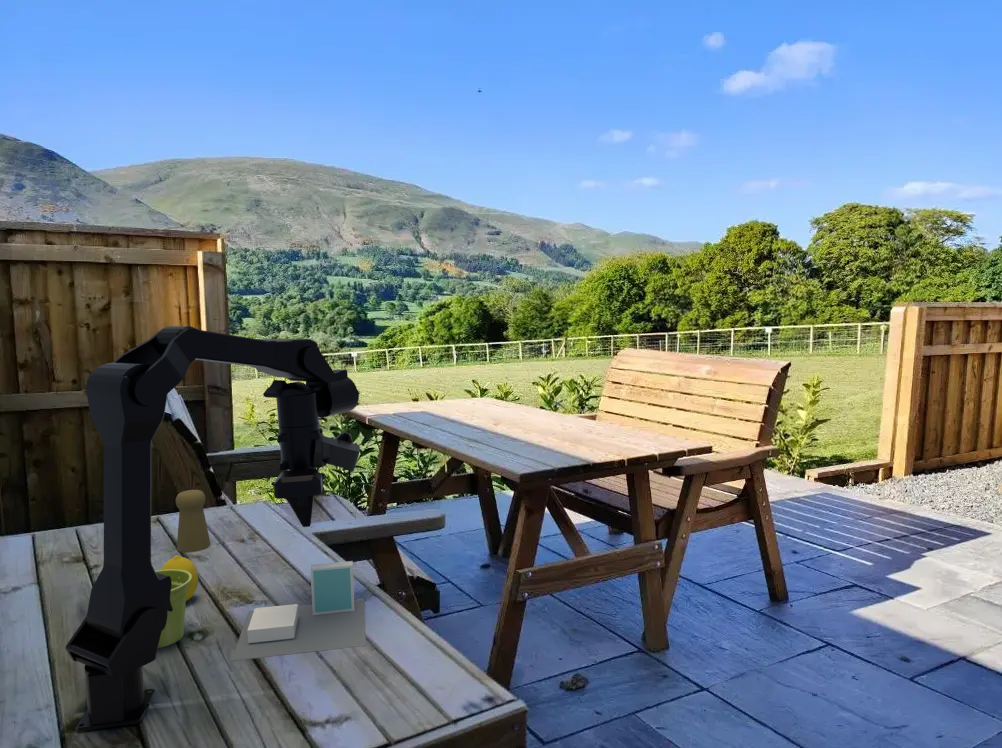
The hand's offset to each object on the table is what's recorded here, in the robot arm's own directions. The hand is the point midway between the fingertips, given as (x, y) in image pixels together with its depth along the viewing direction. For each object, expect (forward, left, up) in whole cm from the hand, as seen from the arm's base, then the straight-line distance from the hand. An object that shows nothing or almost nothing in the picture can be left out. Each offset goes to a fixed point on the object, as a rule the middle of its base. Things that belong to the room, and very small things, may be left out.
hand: (306, 526), depth 104 cm
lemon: (+6, +20, -13) cm, 25 cm away
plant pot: (-6, +20, -13) cm, 25 cm away
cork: (+34, +24, -13) cm, 44 cm away
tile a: (-4, +4, -11) cm, 13 cm away
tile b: (-3, -4, -12) cm, 13 cm away
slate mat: (-7, 0, -13) cm, 15 cm away
